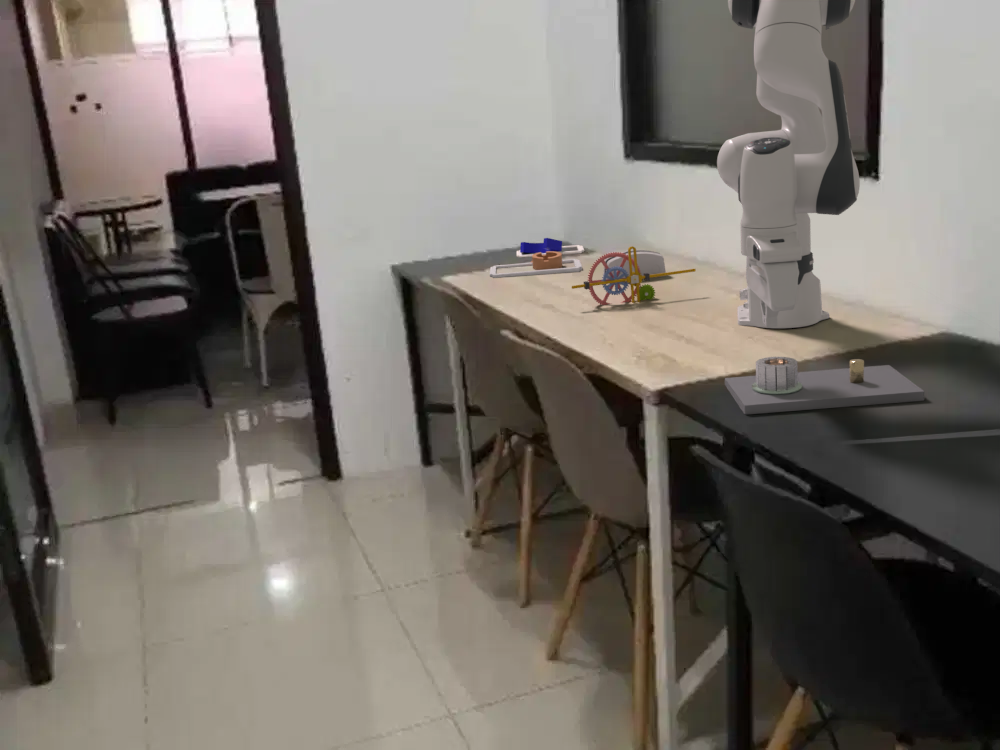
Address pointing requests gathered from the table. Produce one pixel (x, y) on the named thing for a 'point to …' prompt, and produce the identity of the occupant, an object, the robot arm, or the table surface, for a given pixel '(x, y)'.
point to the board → (828, 391)
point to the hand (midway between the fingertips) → (769, 325)
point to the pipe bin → (535, 272)
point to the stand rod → (856, 371)
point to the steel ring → (776, 374)
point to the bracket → (547, 260)
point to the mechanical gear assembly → (623, 279)
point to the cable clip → (541, 246)
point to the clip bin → (580, 250)
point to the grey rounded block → (639, 262)
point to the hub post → (776, 391)
